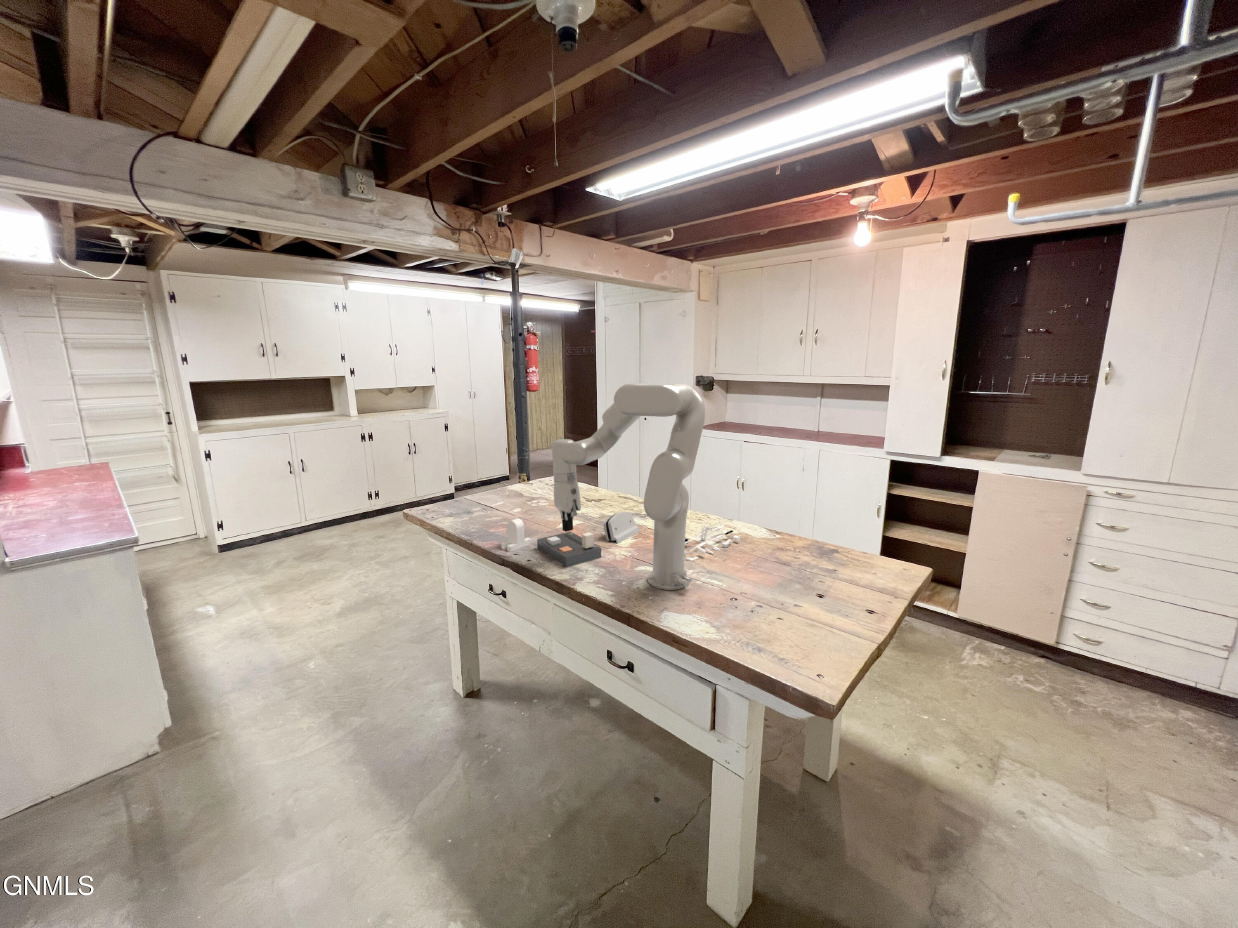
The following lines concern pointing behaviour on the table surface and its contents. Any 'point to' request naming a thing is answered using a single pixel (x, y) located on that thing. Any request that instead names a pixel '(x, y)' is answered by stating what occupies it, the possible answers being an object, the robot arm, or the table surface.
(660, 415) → the robot arm
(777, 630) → the table surface
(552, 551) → the control panel
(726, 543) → the miniature set
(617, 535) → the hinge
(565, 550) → the terracotta key
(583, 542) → the cream tall block
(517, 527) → the cable organizer
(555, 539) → the grey key
